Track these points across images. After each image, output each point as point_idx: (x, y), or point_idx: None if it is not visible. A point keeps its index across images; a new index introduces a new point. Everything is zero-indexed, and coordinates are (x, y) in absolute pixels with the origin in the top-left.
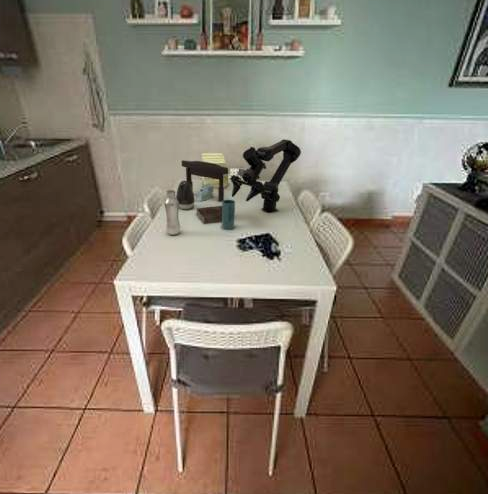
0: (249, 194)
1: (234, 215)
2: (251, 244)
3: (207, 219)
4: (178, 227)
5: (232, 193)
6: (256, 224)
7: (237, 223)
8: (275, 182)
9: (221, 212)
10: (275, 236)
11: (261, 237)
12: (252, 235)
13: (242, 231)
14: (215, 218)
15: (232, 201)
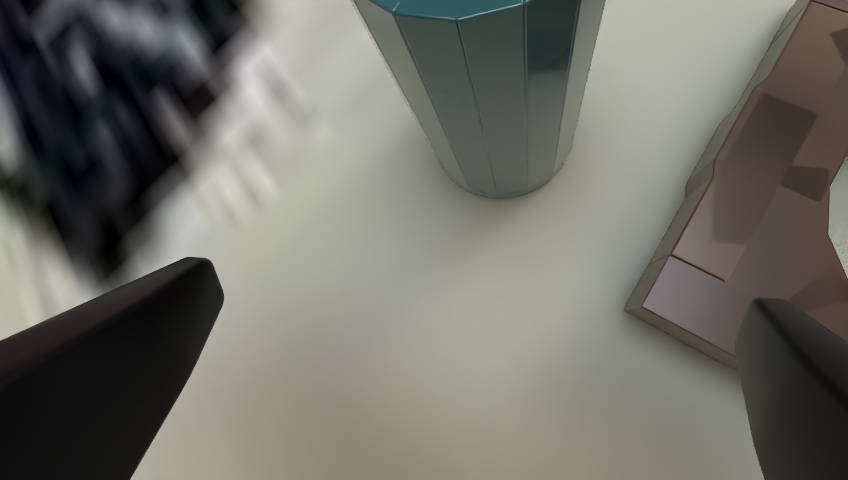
0: (8, 355)
1: (411, 110)
2: (134, 21)
3: (798, 11)
4: None
5: (823, 345)
6: (310, 418)
7: (495, 294)
8: None
9: (825, 282)
10: (44, 283)
11: (128, 180)
12: (206, 157)
13: (324, 161)
14: (739, 105)
15: (444, 6)
